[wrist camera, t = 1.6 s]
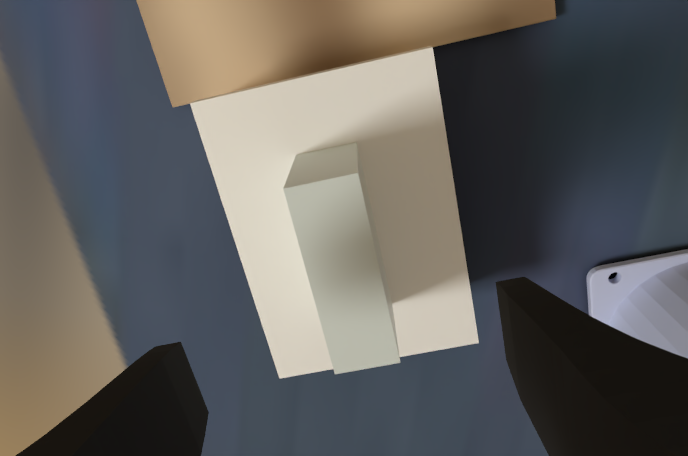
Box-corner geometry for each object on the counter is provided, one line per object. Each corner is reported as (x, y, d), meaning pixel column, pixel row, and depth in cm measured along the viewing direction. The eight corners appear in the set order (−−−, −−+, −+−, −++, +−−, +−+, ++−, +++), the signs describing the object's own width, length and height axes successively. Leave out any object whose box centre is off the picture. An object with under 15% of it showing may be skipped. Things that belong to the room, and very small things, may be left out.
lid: (426, 44, 18) (452, 57, 13) (470, 322, 21) (503, 407, 17) (201, 96, 18) (151, 125, 14) (283, 356, 22) (266, 447, 18)
